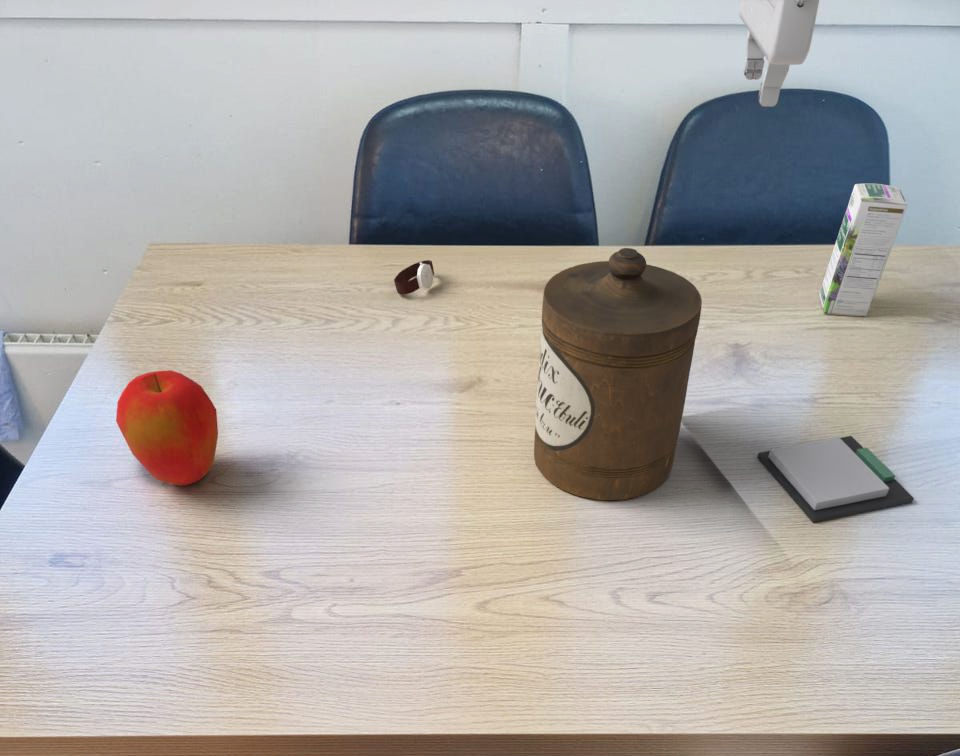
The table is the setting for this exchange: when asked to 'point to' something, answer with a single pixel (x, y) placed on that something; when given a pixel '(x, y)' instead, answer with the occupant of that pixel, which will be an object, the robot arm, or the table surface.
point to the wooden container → (613, 375)
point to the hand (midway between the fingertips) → (758, 90)
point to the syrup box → (862, 249)
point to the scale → (834, 478)
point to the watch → (421, 280)
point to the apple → (169, 426)
